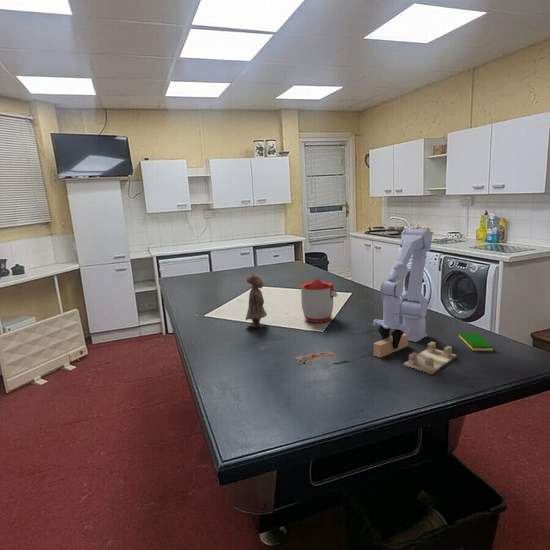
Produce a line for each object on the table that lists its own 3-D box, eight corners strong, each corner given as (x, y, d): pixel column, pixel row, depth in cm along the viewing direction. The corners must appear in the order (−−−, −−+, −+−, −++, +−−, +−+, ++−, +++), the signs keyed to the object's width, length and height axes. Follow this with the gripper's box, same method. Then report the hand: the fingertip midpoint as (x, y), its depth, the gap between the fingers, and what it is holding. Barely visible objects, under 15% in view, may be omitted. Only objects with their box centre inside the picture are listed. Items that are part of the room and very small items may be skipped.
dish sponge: (472, 352, 142) (472, 346, 141) (458, 338, 155) (458, 332, 155) (492, 352, 141) (493, 346, 140) (477, 338, 154) (477, 332, 154)
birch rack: (429, 349, 145) (429, 339, 144) (456, 357, 138) (456, 346, 137) (403, 365, 134) (403, 354, 133) (431, 374, 126) (431, 363, 125)
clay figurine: (268, 329, 175) (265, 276, 170) (246, 332, 174) (242, 277, 169) (265, 320, 188) (262, 270, 183) (245, 322, 187) (241, 272, 181)
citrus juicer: (334, 326, 176) (333, 283, 171) (297, 323, 181) (296, 282, 177) (340, 315, 190) (339, 275, 186) (306, 313, 196) (304, 274, 192)
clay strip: (401, 344, 152) (401, 332, 151) (407, 346, 149) (407, 334, 148) (373, 355, 143) (373, 343, 142) (380, 358, 140) (380, 345, 139)
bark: (334, 349, 150) (334, 348, 150) (350, 361, 140) (350, 359, 139) (282, 361, 143) (282, 360, 143) (294, 374, 132) (294, 373, 132)
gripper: (368, 311, 146) (368, 345, 149) (403, 319, 135) (402, 355, 138) (379, 306, 150) (379, 339, 153) (413, 314, 139) (412, 349, 142)
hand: (390, 346), depth 146 cm, fingers closed on clay strip, 3 cm apart
